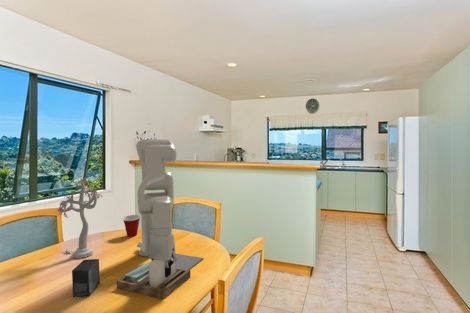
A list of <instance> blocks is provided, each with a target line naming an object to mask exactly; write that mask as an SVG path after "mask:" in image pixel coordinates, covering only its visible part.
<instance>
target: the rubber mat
mask: <svg viewBox="0 0 470 313" xmlns="http://www.w3.org/2000/svg"><path fill="white" fill-rule="evenodd" d="M175 254H176V256H177V258H178V261H176V262H175V264H176V268H181V269H187V270H190V271H191V269H193V268H194V267H195V266H197V265H198V264H199V263H200V262H202V261H203V260H204V257H202V256H196V255H195V256H194V255H189V254H181V253H175Z"/></svg>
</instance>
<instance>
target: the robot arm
mask: <svg viewBox="0 0 470 313" xmlns="http://www.w3.org/2000/svg"><path fill="white" fill-rule="evenodd" d="M136 153H137V156H138V158H139V160H140V164H141V181H140V184H139V185H138V188H137V198H136V199H137V209H138V213H139V214H140V219H141V222H140V223H141V242H138V243H137V244H136V248H140V249H139V250H138V254H139V256H141V257H146V258H147V257H148V258H149V259H150V260H151V261H153V260H154V259H156V260H162V261H165V264H166V268H165V277H166V278H167V277H168V276H170V275H171V265H172V264H173V263H175V262H176V261H178V258H177V256H176V254H177V253H176V241H175V236H174V233H173V221H172V220H173V218H172V217H173V215H172V214H173V212H172V210H173V208H174V207H173V206H174V203H175V202H174V200H175V199H174V198H175V197H174V195H175V194H174V193H175V192H174V177H173V175H172V173H171V172H170V171H166V164H165V163H174V162H175V161H176V159H177V150H176V147H175V145H174V143H173V142H172V140H170V139H141V140H138V141H137V142H136ZM160 190H161V191H160ZM163 190H164V191H163ZM145 191H156V192H146V193H145ZM158 191H160V192H158ZM171 258H173V260H172V259H171ZM168 261H169V262H168Z"/></svg>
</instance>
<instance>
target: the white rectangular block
mask: <svg viewBox="0 0 470 313" xmlns="http://www.w3.org/2000/svg"><path fill="white" fill-rule="evenodd" d="M171 259H172V260H173V258H171ZM148 262H149V282H150V286H151V287H155V288H157V287H158V286H159V285H161V284H162V283H163V282H165V281H166V280H168V279H169V278H170V277H172V276H173V275H174V274H176V264H175V263H173V264H172V265H171V275H170V276H168V277H167V278H166V277H165V268H166V264H165V261H162V260H156V259H154V260H153V261H152V260H151V261H148ZM168 262H169V261H168Z"/></svg>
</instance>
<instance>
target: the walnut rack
mask: <svg viewBox="0 0 470 313" xmlns="http://www.w3.org/2000/svg"><path fill="white" fill-rule="evenodd" d="M190 278H191V269H190V270H187V269H181V268H176V274H174V275H173V276H172V277H170V278H169V279H168V280H166V281H165V282H163V283H162V284H161V285H159V286H158V287H157V288H155V287H151V286H150V282H149V279H148V280H147V281H145V282H144V283H142V284H137V283H132V282H128V281H127V279H125V276H123V277H122V278H120V279H118V280H117V281H116V289H119V290H123V291H126V292H129V293H130V292H131V293H135V294H138V295H139V294H140V295H144V296H148V297H154V298H156V299H157V298H158V299H160V300H161V299H162V300H164V299H166V298H167V297H168V296H169V295H171V294H172V293H173V292H174V291H176V290H177V289H178V288H179V287H180V286H181V285H183V283H185V282H186V281H187V280H189V279H190Z"/></svg>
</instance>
